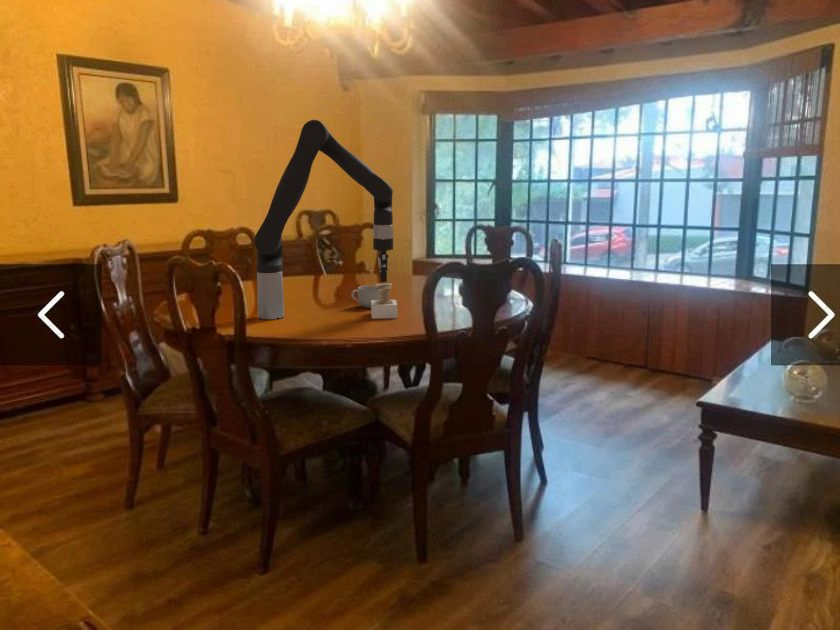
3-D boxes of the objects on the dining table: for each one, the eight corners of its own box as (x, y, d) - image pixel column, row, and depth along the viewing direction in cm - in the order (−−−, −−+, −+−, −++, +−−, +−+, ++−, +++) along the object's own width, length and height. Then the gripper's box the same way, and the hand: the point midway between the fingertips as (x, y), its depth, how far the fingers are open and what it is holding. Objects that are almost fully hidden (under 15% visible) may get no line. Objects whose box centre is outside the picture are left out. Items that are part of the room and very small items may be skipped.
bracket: (376, 316, 252) (375, 285, 249) (376, 314, 256) (375, 283, 253) (392, 316, 252) (391, 284, 250) (391, 314, 256) (391, 283, 254)
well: (371, 318, 248) (371, 305, 247) (371, 313, 259) (371, 300, 258) (397, 318, 249) (397, 304, 248) (395, 312, 260) (395, 299, 259)
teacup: (380, 303, 279) (379, 284, 278) (388, 308, 269) (387, 288, 268) (347, 306, 274) (347, 286, 273) (354, 310, 264) (353, 290, 263)
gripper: (372, 235, 255) (372, 278, 258) (373, 238, 241) (373, 283, 244) (392, 235, 255) (392, 277, 258) (394, 238, 241) (394, 283, 245)
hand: (383, 280), depth 251 cm, fingers open, 8 cm apart
